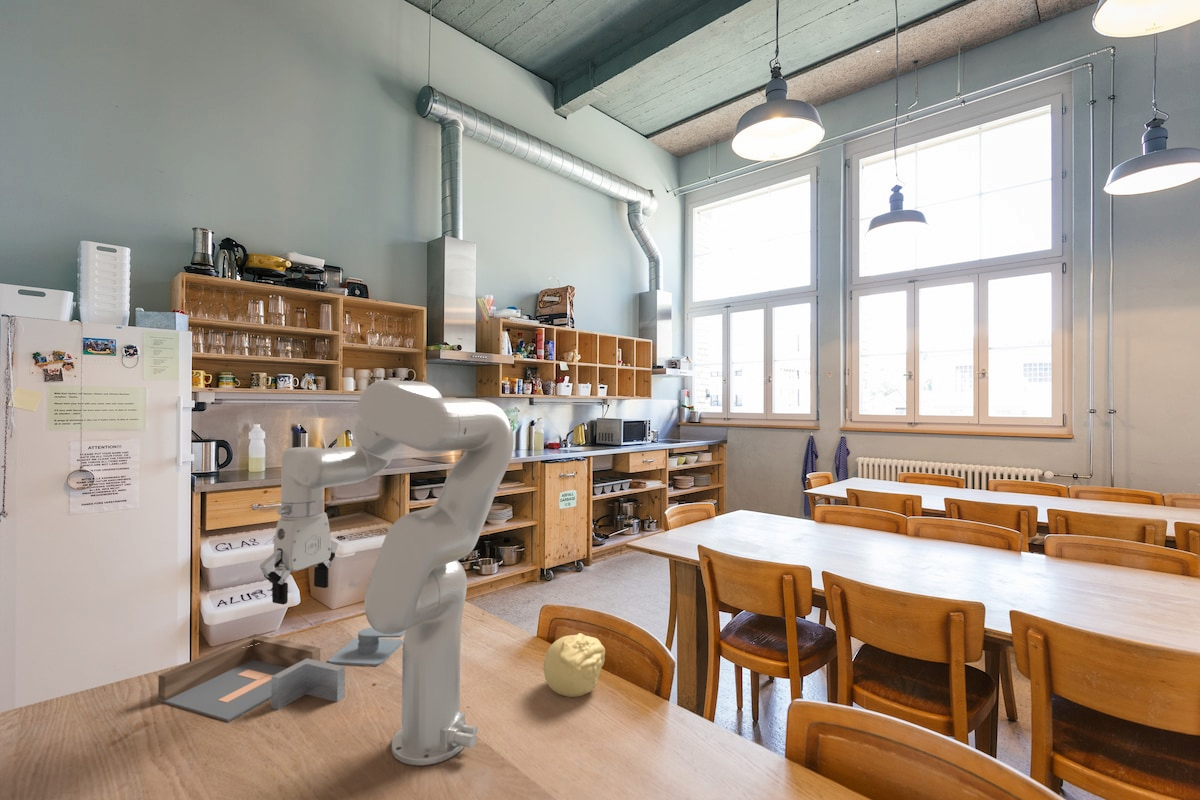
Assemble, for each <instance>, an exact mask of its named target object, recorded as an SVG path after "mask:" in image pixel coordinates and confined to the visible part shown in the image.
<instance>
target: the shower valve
mask: <svg viewBox="0 0 1200 800" xmlns="http://www.w3.org/2000/svg"><path fill="white" fill-rule="evenodd" d="M357 633H358V634H357V637H355V638H353V639H352V640H350V641H349V642H348V643H347V644H346V645H344V646H343V647H342V648H341V649H340V650H338V651H337V652H336V653H335V654H333V655H332V656H331V657H329V658H328V660H327V663H330V664H335V665H341V664H342V665H341V666H345V665H346V666H361V665H374V666H373V667H376V666H375V665H379V666H381V665H383V664H384V663H385V662H386V660H387V659H388V658H390V657H391V655H393V653H395V652H396V651H397V650H398V649H399V648H400V647H401V646H402V645H403V640H404V639H403V640H402V639H398V638H401V637H404V635H405V631H402V632H400V633H396V634H382V633H380V632H377V631H376V630H375V629H373V628H372V627H366V628H363V629H360V630H359V631H358V632H357ZM393 638H394V639H393ZM395 638H397V639H395ZM401 644H402V645H401ZM380 664H381V665H380Z"/></svg>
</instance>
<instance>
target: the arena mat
mask: <svg viewBox="0 0 1200 800" xmlns="http://www.w3.org/2000/svg"><path fill="white" fill-rule="evenodd" d="M285 669H287V667H282V666H278V665H274V664H270V663H265V662H261V661H257V660H251V661H249V662H247V663H245V664H243V665H241V666H238V667H236V668H234V669H232V670H230V671H228V672H226V673H223V674H221V675H219V676H217V677H215V678H213V679H211V680H209V681H206V682H204V683H202V684H200V685H198V686H196V687H194V688H191V689H189V690H187V691H185V692H183V693H181V694H179V695H177V696H174V697H172V698H170V699H168V700H166V701H164V700H160V699H158V697H156V701H157V702H161V703H163V704H167V705H172V706H174V707H176V708H177V707H178V708H181V709H184V710H186V711H187V710H188V711H191V712H195V713H197V714H201V715H204V716H208V717H212V718H214V719H215V718H216V719H218V720H220V721H221V720H222V721H225V722H228V723H229V722H231V721H233V720H235V719H236V718H238V717H241V716H242V715H244V714H246V713H247V712H250V711H251V710H253V709H255V708H257V707H258V706H260V705H262V704H264V703H266V702H267V701H269V700H271V685H272V676H273V675H275V674H277V673H279V672H281V671H283V670H285Z"/></svg>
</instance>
